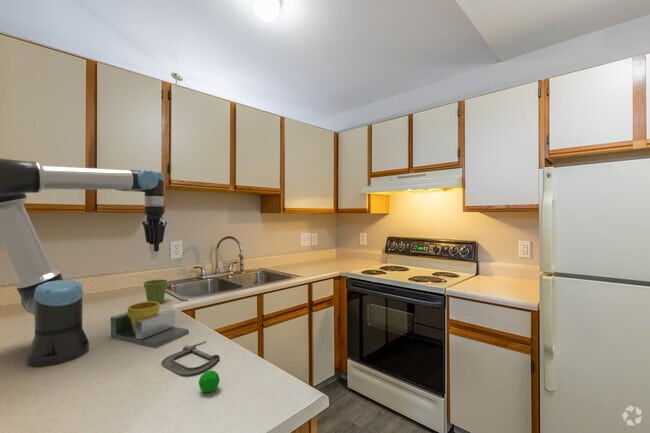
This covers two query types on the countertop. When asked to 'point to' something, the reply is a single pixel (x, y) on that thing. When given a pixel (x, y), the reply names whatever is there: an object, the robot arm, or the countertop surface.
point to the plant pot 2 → (142, 311)
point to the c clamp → (189, 371)
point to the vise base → (124, 331)
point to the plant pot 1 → (155, 290)
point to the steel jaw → (155, 324)
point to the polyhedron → (209, 381)
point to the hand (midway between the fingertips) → (154, 258)
